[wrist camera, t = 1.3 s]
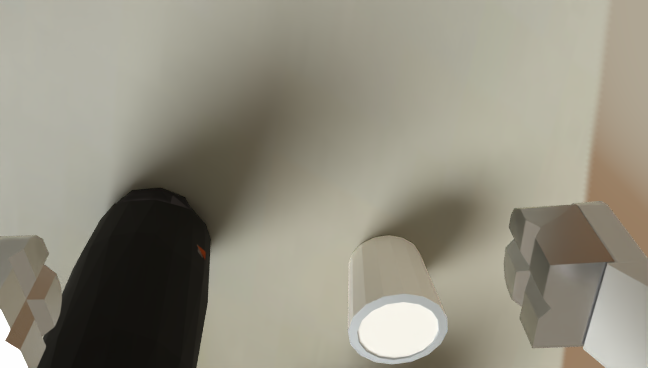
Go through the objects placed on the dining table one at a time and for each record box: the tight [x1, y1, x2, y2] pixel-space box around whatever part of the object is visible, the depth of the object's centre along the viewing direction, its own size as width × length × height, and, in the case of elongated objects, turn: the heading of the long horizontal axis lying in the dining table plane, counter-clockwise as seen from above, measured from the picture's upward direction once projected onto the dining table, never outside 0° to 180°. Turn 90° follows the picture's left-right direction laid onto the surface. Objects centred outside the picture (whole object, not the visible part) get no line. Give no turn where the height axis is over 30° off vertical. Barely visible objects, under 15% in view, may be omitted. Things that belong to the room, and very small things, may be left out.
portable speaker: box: [37, 188, 211, 368], centre depth 36 cm, size 9×9×20 cm
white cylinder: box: [348, 235, 448, 364], centre depth 45 cm, size 7×7×7 cm
